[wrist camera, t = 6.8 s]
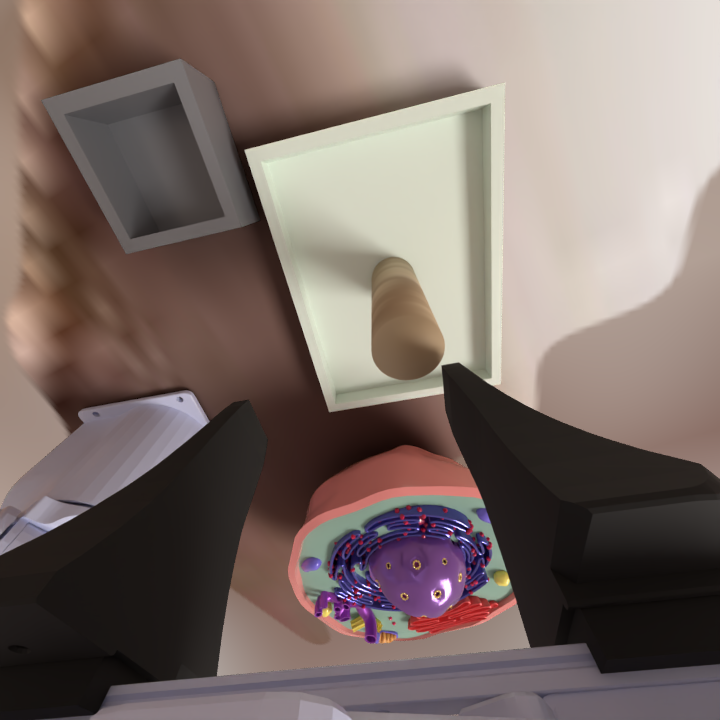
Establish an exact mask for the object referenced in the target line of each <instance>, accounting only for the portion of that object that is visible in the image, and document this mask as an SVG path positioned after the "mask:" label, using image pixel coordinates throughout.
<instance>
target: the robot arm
mask: <svg viewBox="0 0 720 720" xmlns="http://www.w3.org/2000/svg"><path fill="white" fill-rule="evenodd" d="M441 367H442V378H443V388H444V399H445V409H446V414H447V417H448V420H449V423H450V426H451V429H452V433H453V435H454V438H455V440H456V442H457V444H458V446H459V449H460V451H461V453H462V455H463V457H464V460H465V462H466V464H467V466H468V468H469V470H470V473H471V475H472V477H473V479H474V481H475V483H476V486H477V488H478V490H479V492H480V495H481V497H482V500H483V502H484V505H485V508H486V511H487V514H488V517H489V520H490V522H491V525H492V528H493V531H494V534H495V537H496V540H497V543H498V546H499V549H500V552H501V555H502V558H503V561H504V564H505V567H506V570H507V574H508V577H509V580H510V583H511V586H512V589H513V592H514V595H515V598H516V602H517V605H518V608H519V611H520V615H521V618H522V621H523V624H524V628H525V631H526V634H527V637H528V641H529V644H530V647H531V648H524V649H513V650H502V651H491V652H480V653H469V654H458V655H447V656H436V657H425V658H414V659H403V660H393V661H382V662H371V663H360V664H348V665H337V666H326V667H315V668H304V669H293V670H283V671H271V672H259V673H249V674H238V675H227V676H217V669H218V661H219V653H220V646H221V637H222V630H223V625H224V618H225V612H226V606H227V600H228V593H229V589H230V584H231V578H232V573H233V568H234V563H235V558H236V554H237V550H238V545H239V541H240V536H241V532H242V529H243V525H244V522H245V519H246V516H247V513H248V510H249V507H250V504H251V501H252V498H253V495H254V492H255V489H256V486H257V483H258V480H259V477H260V474H261V471H262V467H263V464H264V459H265V454H266V448H267V442H268V439H267V437H266V435H265V433H264V431H263V429H262V427H261V424H260V422H259V420H258V418H257V416H256V414H255V412H254V410H253V407H252V405H251V403H250V401H249V400H244V401H239V402H234V403H232V404H231V405H229V406H228V407H227V408H225V409H224V410H223V411H222V412H220V413H219V414H218V415H217V416H216V417H214V418H213V419H212V420H211V421H209V420H208V418H207V416H206V414H205V413H204V411H203V409H202V407H201V406H200V404H199V402H198V400H197V399H196V397H195V395H194V394H193V393H192V392H191V391H188V390H184V391H179V392H173V393H168V394H162V395H157V396H151V397H146V398H140V399H134V400H129V401H123V402H118V403H112V404H107V405H101V406H96V407H90V408H84V409H82V410H81V411H79V413H78V416H79V418H80V419H81V420H82V421H83V422H84V424H82V425H81V426H80V427H79V428H78V429H77V430H75V431H74V432H73V433H72V434H71V435H70V436H69V437H67V438H66V439H65V440H64V441H63V442H62V443H60V444H59V445H58V446H57V447H56V448H55V449H53V450H52V451H51V452H50V453H49V454H48V455H47V456H45V457H44V458H43V459H42V460H41V461H40V462H39V463H37V464H36V465H35V466H34V467H33V468H31V469H30V470H29V471H28V472H27V473H26V474H25V475H23V476H22V477H21V478H20V479H19V480H18V481H17V482H16V483H15V484H14V485H13V486H12V488H11V489H10V490H9V492H8V493H7V495H6V497H5V499H4V501H3V503H2V505H1V508H0V720H720V479H719V478H718V477H716V476H715V475H714V474H713V473H712V472H710V471H709V470H708V469H706V468H705V467H704V466H702V465H701V464H699V463H695V462H691V461H687V460H682V459H678V458H674V457H671V456H666V455H662V454H658V453H654V452H650V451H646V450H642V449H639V448H635V447H632V446H629V445H626V444H622V443H619V442H616V441H612V440H609V439H606V438H603V437H600V436H597V435H594V434H591V433H589V432H586V431H583V430H581V429H578V428H575V427H573V426H570V425H568V424H565V423H562V422H560V421H558V420H555V419H553V418H551V417H549V416H547V415H544V414H542V413H540V412H538V411H536V410H534V409H532V408H530V407H528V406H526V405H524V404H522V403H520V402H519V401H517V400H515V399H513V398H511V397H510V396H508V395H506V394H505V393H503V392H501V391H500V390H498V389H496V388H495V387H493V386H492V385H490V384H489V383H487V382H486V381H484V380H483V379H482V378H480V377H479V376H477V375H476V374H474V373H473V372H472V371H470V370H469V369H468V368H466V367H465V366H463V365H462V364H461V363H459V362H457V363H452V364H446V365H441ZM180 397H181V398H183V399H181V398H180ZM455 714H456V715H457V714H459V715H458V716H456V715H455Z"/></svg>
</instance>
